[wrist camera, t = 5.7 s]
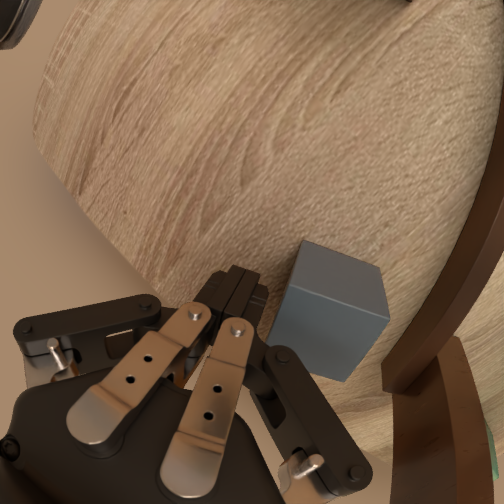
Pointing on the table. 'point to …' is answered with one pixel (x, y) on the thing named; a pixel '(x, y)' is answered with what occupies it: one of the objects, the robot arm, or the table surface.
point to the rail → (455, 278)
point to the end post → (441, 436)
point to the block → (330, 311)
